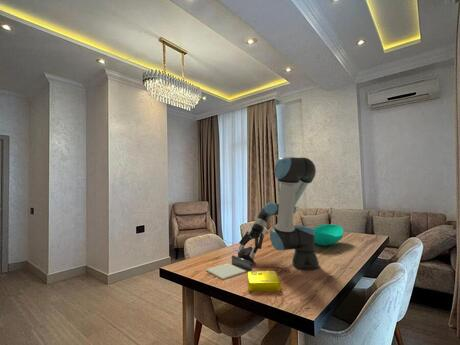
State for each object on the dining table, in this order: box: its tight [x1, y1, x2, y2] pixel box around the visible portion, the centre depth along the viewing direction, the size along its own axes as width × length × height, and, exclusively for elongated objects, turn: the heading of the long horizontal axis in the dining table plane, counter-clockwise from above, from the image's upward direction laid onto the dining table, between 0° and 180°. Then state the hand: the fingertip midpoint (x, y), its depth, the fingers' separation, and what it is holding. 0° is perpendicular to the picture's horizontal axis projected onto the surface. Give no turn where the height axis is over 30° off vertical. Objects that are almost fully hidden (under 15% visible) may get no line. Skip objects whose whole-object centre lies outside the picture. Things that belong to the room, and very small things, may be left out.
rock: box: [237, 245, 256, 262], centre depth 149 cm, size 12×9×10 cm
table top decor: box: [313, 223, 345, 247], centre depth 185 cm, size 40×28×13 cm
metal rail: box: [231, 255, 253, 272], centre depth 139 cm, size 17×2×5 cm, turn 37°
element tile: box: [246, 270, 282, 293], centre depth 114 cm, size 15×15×5 cm
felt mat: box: [205, 262, 247, 281], centre depth 132 cm, size 17×16×1 cm
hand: (244, 255), depth 147 cm, fingers open, 9 cm apart
